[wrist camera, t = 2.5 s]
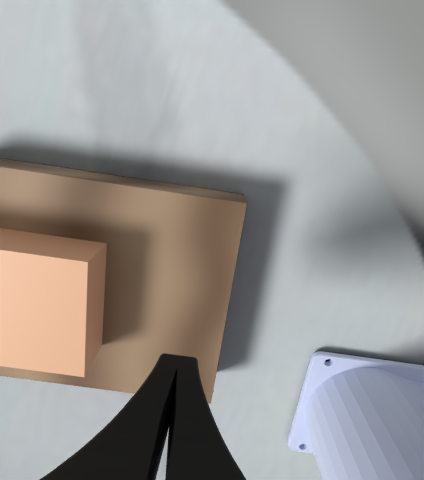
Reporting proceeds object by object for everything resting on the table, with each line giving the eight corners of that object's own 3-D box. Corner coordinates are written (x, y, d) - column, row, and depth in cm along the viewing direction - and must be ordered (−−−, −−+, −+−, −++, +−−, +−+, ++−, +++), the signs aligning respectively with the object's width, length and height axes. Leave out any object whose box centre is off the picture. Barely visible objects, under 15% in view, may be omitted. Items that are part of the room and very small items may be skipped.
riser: (243, 194, 18) (246, 203, 16) (211, 373, 22) (210, 403, 19) (-25, 154, 18) (-64, 157, 15) (-11, 343, 21) (-40, 370, 19)
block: (106, 243, 16) (87, 262, 14) (101, 345, 18) (84, 377, 16) (-56, 219, 16) (-104, 234, 14) (-45, 325, 18) (-85, 354, 16)
